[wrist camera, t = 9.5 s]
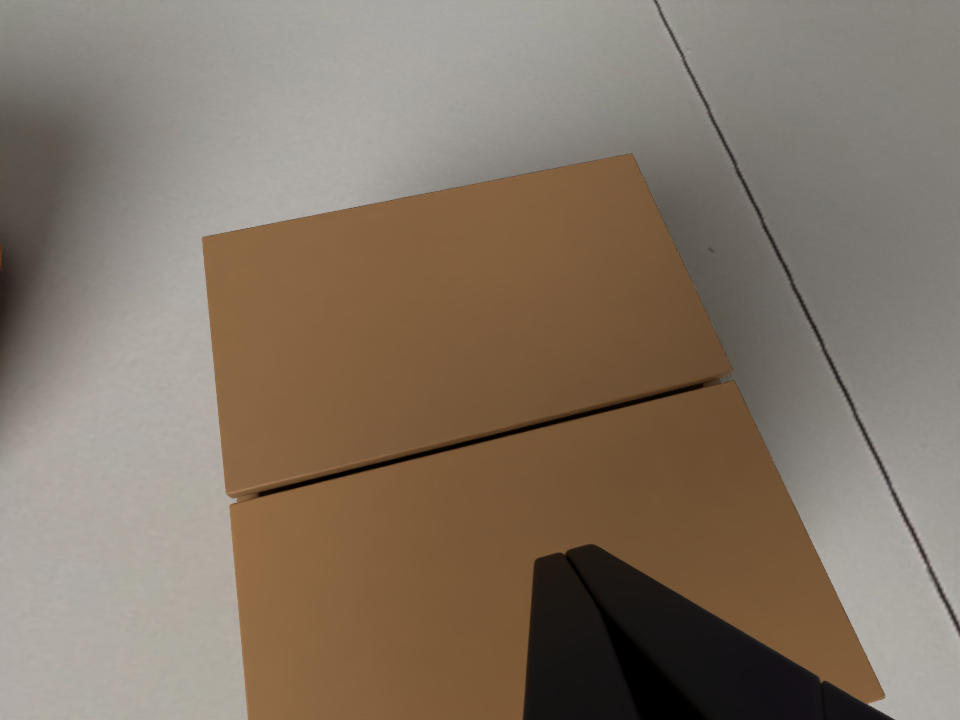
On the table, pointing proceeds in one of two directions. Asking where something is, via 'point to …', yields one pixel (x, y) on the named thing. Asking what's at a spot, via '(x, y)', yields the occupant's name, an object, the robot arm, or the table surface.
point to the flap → (521, 561)
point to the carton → (446, 323)
